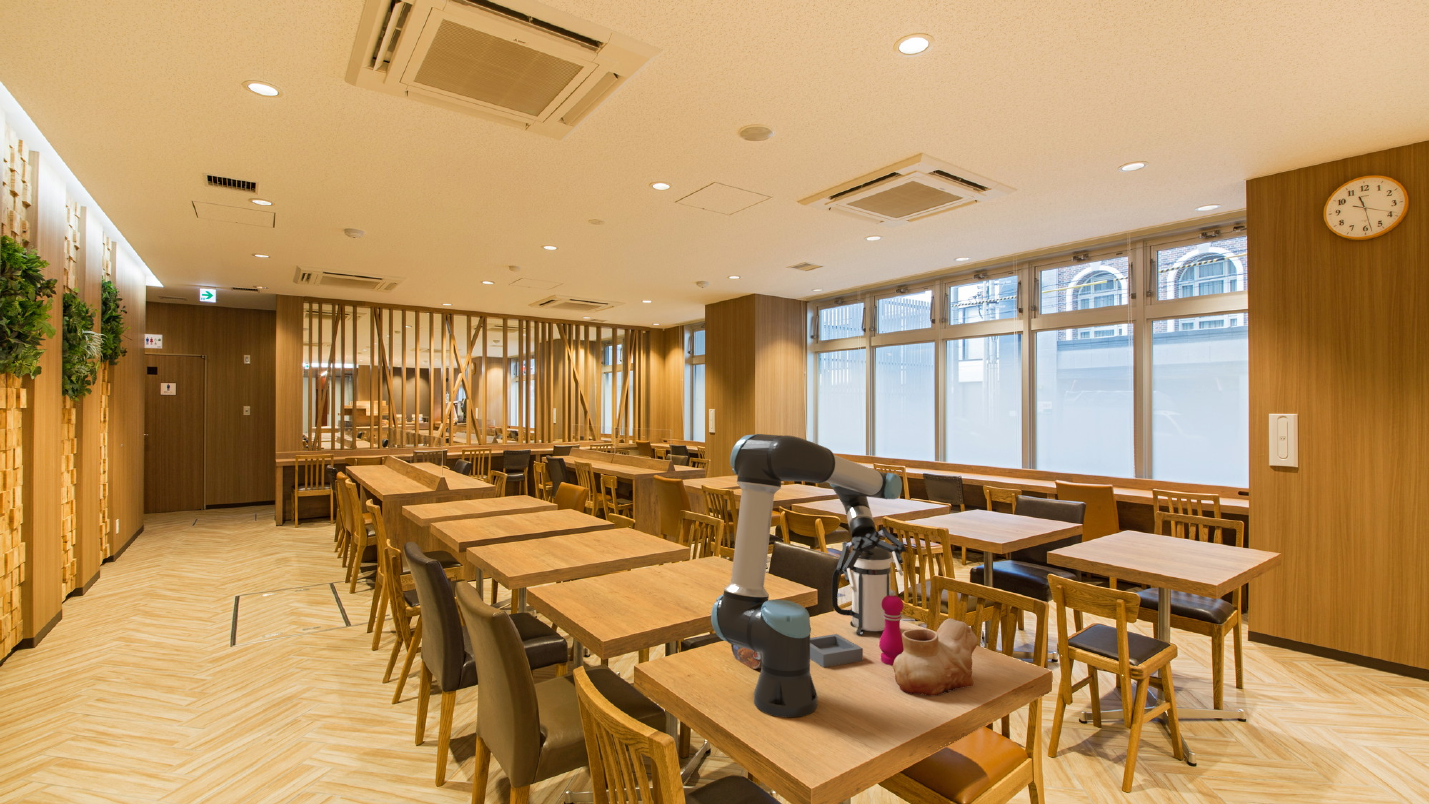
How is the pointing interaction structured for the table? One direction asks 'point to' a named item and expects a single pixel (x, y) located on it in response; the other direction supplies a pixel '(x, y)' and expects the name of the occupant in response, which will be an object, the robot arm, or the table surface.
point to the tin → (747, 656)
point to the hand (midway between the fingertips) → (877, 581)
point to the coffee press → (867, 590)
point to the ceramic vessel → (936, 659)
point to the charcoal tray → (834, 650)
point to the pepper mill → (891, 629)
